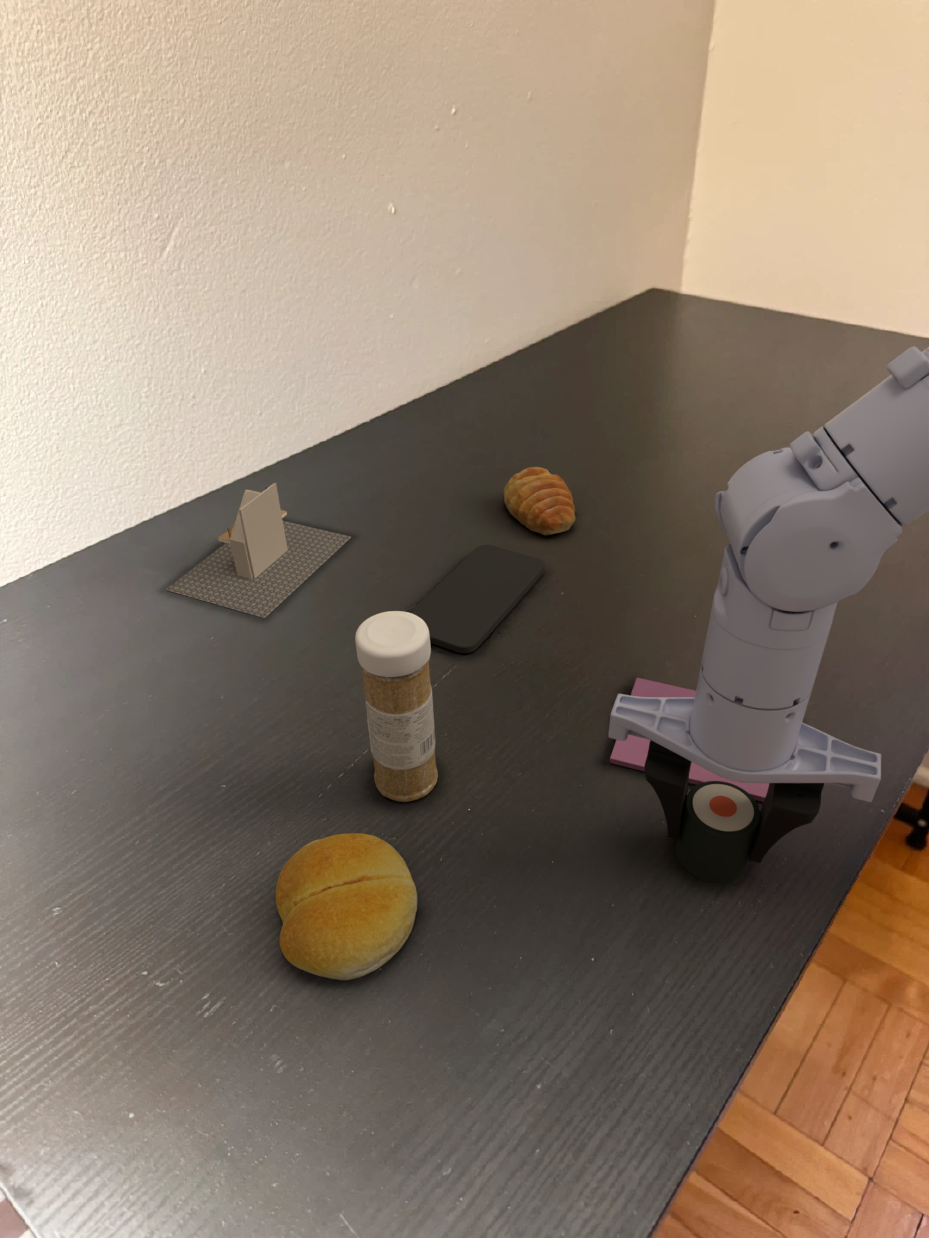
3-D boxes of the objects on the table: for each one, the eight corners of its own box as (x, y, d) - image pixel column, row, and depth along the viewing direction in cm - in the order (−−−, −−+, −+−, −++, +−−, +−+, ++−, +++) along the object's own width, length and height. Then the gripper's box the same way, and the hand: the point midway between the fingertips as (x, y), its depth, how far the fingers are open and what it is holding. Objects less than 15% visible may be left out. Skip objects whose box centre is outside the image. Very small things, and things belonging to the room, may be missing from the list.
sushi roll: (750, 837, 55) (764, 789, 52) (742, 892, 52) (757, 843, 49) (682, 819, 56) (692, 770, 53) (670, 871, 53) (680, 822, 50)
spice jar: (402, 747, 62) (388, 599, 54) (451, 774, 60) (444, 624, 52) (360, 786, 59) (338, 635, 51) (410, 816, 57) (395, 663, 49)
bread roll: (288, 1003, 47) (276, 963, 44) (275, 872, 53) (264, 831, 51) (434, 965, 48) (430, 925, 46) (402, 842, 55) (398, 801, 53)
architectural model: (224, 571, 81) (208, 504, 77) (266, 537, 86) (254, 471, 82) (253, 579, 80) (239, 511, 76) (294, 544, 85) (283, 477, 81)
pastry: (591, 532, 85) (593, 499, 83) (529, 545, 84) (529, 512, 82) (554, 491, 93) (555, 459, 90) (497, 502, 91) (496, 470, 89)
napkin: (794, 719, 63) (797, 711, 63) (785, 807, 57) (787, 798, 56) (636, 684, 67) (637, 675, 66) (609, 762, 60) (610, 754, 60)
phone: (395, 624, 72) (481, 541, 83) (396, 632, 73) (481, 549, 83) (470, 650, 69) (549, 561, 80) (470, 658, 70) (549, 568, 80)
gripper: (903, 657, 45) (841, 822, 54) (636, 604, 50) (616, 764, 58) (906, 746, 40) (837, 913, 48) (607, 678, 45) (590, 842, 53)
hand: (715, 838), depth 53 cm, fingers closed on sushi roll, 4 cm apart
